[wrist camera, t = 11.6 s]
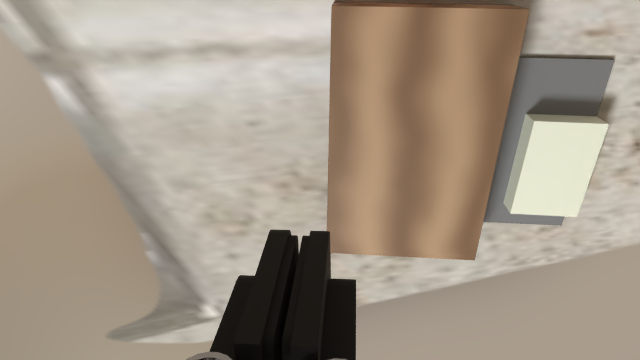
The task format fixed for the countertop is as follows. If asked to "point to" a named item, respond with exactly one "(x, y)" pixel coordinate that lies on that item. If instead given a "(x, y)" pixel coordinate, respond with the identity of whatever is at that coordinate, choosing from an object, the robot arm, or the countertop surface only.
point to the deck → (417, 123)
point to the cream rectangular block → (554, 164)
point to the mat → (543, 98)
